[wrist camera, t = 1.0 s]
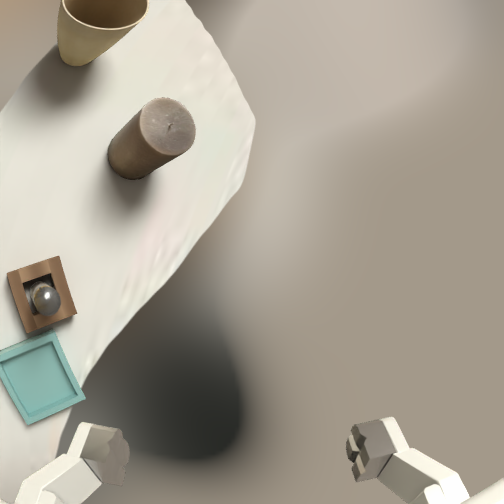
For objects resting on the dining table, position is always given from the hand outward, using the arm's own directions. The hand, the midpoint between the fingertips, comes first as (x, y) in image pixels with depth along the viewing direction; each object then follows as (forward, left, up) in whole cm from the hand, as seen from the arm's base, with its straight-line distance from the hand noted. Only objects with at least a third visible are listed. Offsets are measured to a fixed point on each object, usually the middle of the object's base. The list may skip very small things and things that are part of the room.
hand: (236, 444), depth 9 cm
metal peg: (-2, +2, -43) cm, 43 cm away
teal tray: (-8, -9, -43) cm, 44 cm away
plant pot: (+11, +44, -43) cm, 63 cm away
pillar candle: (+20, +21, -43) cm, 52 cm away
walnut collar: (-2, +3, -43) cm, 43 cm away
